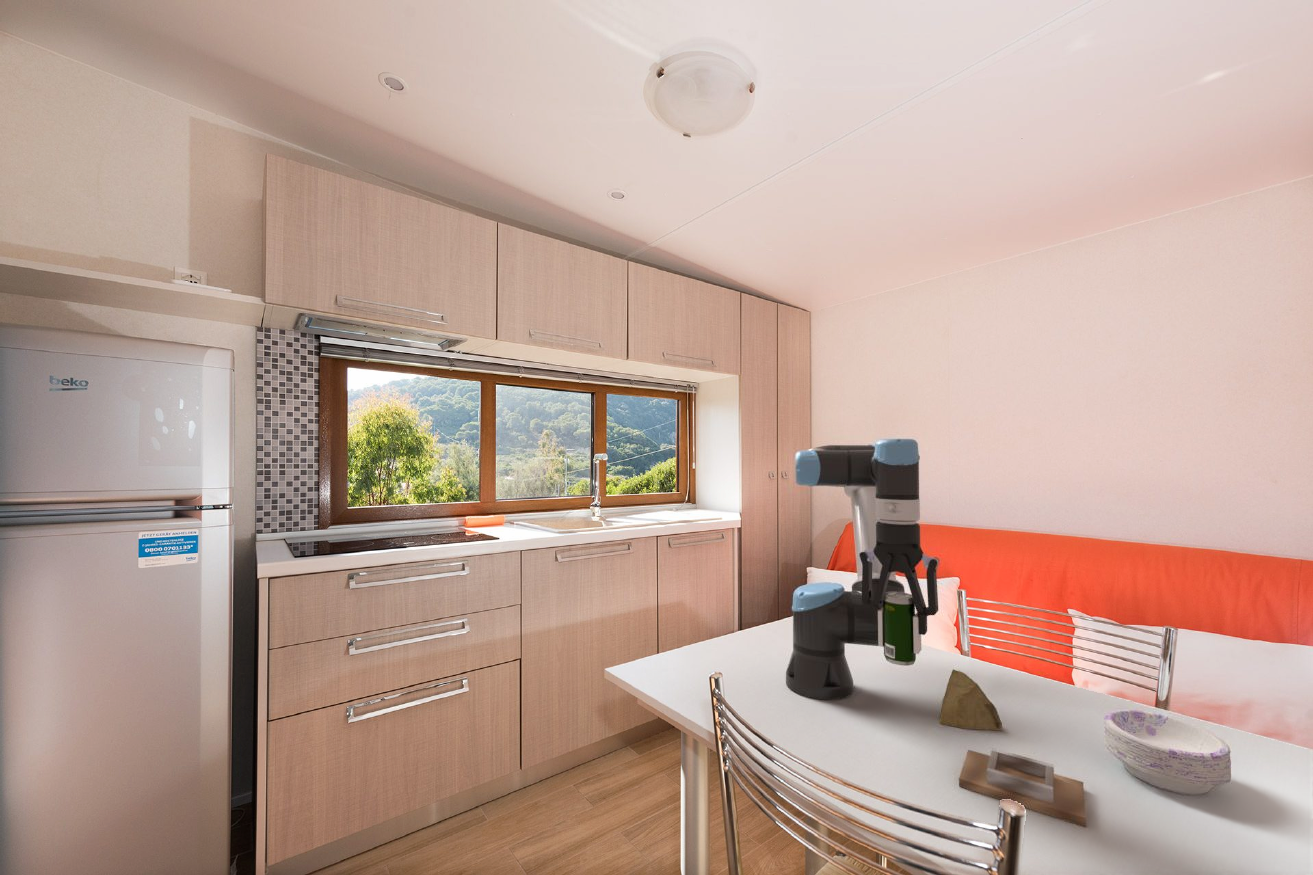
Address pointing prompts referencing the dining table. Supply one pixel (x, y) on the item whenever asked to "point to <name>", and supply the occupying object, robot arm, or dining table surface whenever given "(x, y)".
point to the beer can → (898, 628)
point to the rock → (967, 705)
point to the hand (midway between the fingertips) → (899, 647)
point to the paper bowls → (1167, 751)
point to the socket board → (1024, 784)
